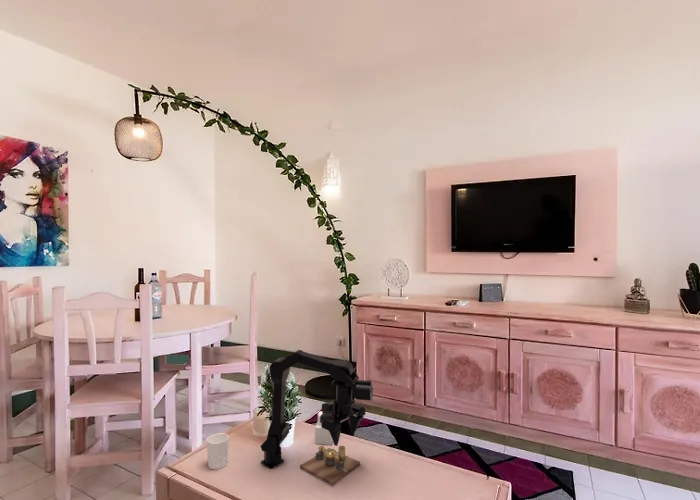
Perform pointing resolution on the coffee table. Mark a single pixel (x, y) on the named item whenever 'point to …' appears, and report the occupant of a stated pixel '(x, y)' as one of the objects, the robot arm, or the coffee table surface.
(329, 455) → the crank handle
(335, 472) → the post base
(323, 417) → the medicine bottle
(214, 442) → the white cup
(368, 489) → the coffee table surface
